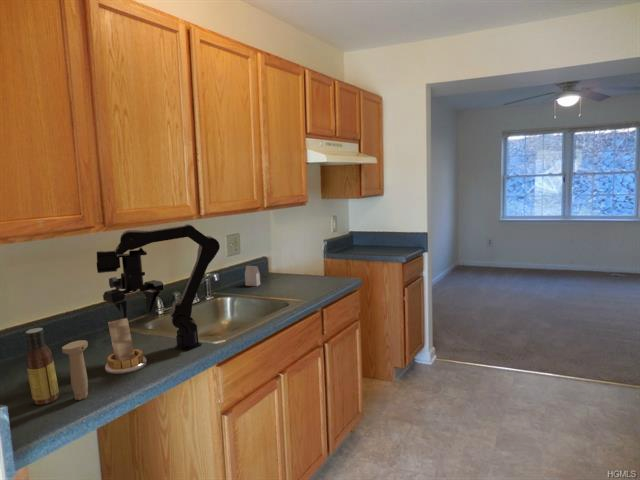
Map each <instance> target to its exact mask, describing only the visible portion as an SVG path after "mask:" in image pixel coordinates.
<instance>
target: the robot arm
mask: <svg viewBox="0 0 640 480" xmlns="http://www.w3.org/2000/svg"><path fill="white" fill-rule="evenodd" d="M182 238H183V239H184V238H189V239H190V240H192V241H193V242H195V243H196V244H198V249H197V256H196V261H195V264H194V266H193V269H192V271H191V273H190V276H189V278H188V281H187V283H186V286H185V288H184V290H183V292H182V295H181V297H180V299H179V300H178V301H176V300H173V302H172V307H171V309H170V310H168V312H169V315H170V316H169V318H170V321H171V323H172V325H173V326H174V327H175V328H177V329H178V330H176V336H175V338H176V345H175V346H174V347H175V348H176V349H180V350H184V351H190V350H192V349H194V348H197V347H200V346H201V345H202V342H200V341H199V336H198V335H199V334H198V331H199V330H198V325H197V322H196V321H195V320H194V319H195V318H193V317H192V312H193V311H192V310H193V304H194V301H195V298H196V296H197V294H198V291H199V288H200V286H201V284H202V281H203V278H204V277H205V274H206V272H207V269H208V267H209V265H210V263H211V262H212V261H213V259H215V257H216V255H217V254H218V253H219V250H220V246H221V245H220V242H219V241H218V239H216V238H214V237H213V236H209V235H207V236H206V235H205V234H204V233H202V232H201V231H199V230H197V229H196V228H195V227H194V226H193V225H192V224H189V223H188V224H184V225H180V226H179V225H178V226H174V227H173V226H172V227H167V228H159V229H153V230H140V229H139V230H138V229H137V230H136V229H134V230H133V229H132V230H131V229H128V230H125V231H123V232H122V234H121V235H120V242H119V244H118V245H117V246H116V248H115V250H108V251H107V250H106V251H104V250H99V251H96V269H97V274H104V273H113V272H118V270H119V269H120V268H121V263H122V272H121V273H120V278H117V276H113V277H110V278H108V285H109V287H110V288H111V290H105V291H104V293H103V295H102V298H103V302H104V301H105V302H107V303H108V302H109V303H111V304H113V305H114V306H115V307H116V309H117V310H118V313H119V315H120V316H121V319H125V318H128V316H127V314H128V313H127V312H128V311H127V308H128V306H127V300H125V298H126V297H127V296H131V295H135V294H138V293H142V292H143V294H144V296H145V306H146V313H147V314H151V311H152V309H153V306H154V304H155V302H156V300H157V298H158V296H159V295H160V294H161V292H162V291H164V290H165V285H164V283H163V282H162V281H160V280H156V279H153V280H148V281H144V277H143V276H146V271H143V265H142V256H146V255H147V254H148V252H147V251H146V250H145V249H143V248H142V247H144V246H145V247H146V246H147V245H149V244H151V243H152V244H154V243H158V242H165V241H171V240H177V239H182ZM138 248H139V249H138ZM126 252H128V253H126ZM114 288H115V289H114Z"/></svg>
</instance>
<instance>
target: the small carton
mask: <svg viewBox="0 0 640 480" xmlns="http://www.w3.org/2000/svg"><path fill="white" fill-rule="evenodd" d="M244 271H245V272H244V281H245V286H246V287H247V286H248V287H258V286H261V274H260V270H259V268H258V265H257V266H256V265H255V266H253V265H246V266H245V270H244Z"/></svg>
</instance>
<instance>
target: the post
mask: <svg viewBox="0 0 640 480" xmlns="http://www.w3.org/2000/svg"><path fill="white" fill-rule="evenodd" d="M107 324H108V329H109V331H108V332H109V335H110V340H111V344H112V350H113V353H114V356H115V360H126V359H130V358H133V357H135V354H134V349H135V348H134V346H133V340H132V336H131V332H130V331H131V330H130V326H129V325H130V324H129V320H128V317H126V318H125V319H123V318H120V319H116V320H112V321H108V322H107Z"/></svg>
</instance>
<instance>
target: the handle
mask: <svg viewBox="0 0 640 480" xmlns="http://www.w3.org/2000/svg"><path fill="white" fill-rule="evenodd" d="M88 346H89V343H88V341H87V340H85V339H84V340H83V339H82V340H74V341H71V342H69V343H67V344H65V345H63V346H62V347H61V350H62V351H61V352H62V353H63V354H64V355H65V354H66V355H68V358H69V360H68V361H69V370H70V371H69V373H70V385H71V388H72V393H73V394H74V395H73V397H74V398H73V399H75V400H78V401H81V400H85V399H87V397H88V395H89V391H88V389H89V382H88V380H89V379H88V374H87V369H86V363H85V357H84V351H85V350H86V349H87V347H88Z"/></svg>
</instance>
